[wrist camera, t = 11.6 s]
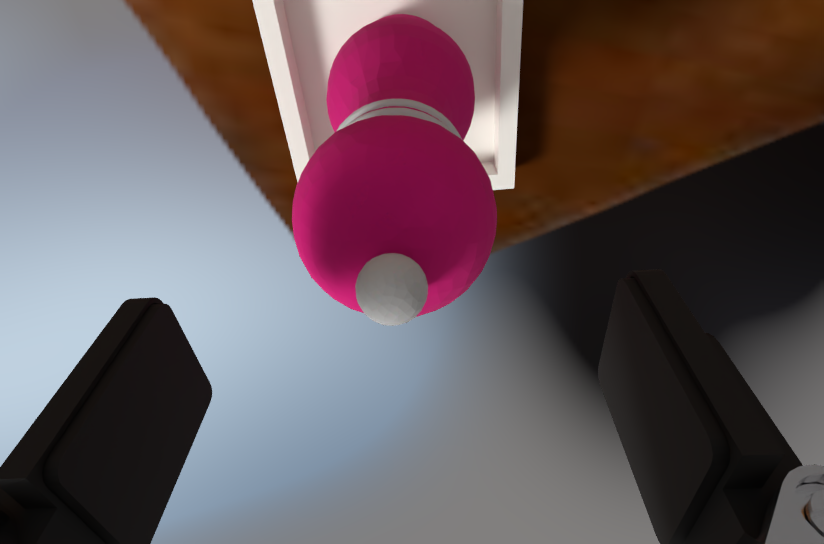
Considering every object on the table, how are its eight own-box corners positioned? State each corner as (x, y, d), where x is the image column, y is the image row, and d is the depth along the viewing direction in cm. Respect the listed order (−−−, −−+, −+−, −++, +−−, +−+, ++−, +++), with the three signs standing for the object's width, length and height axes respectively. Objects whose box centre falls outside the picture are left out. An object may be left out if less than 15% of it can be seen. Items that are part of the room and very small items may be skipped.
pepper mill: (337, -5, 25) (203, 150, 9) (476, 10, 25) (594, 183, 9) (337, 132, 29) (248, 404, 13) (456, 142, 29) (511, 418, 13)
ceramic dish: (516, -76, 23) (527, -75, 21) (507, 170, 31) (514, 188, 29) (255, -50, 24) (241, -46, 22) (309, 186, 32) (303, 204, 30)
